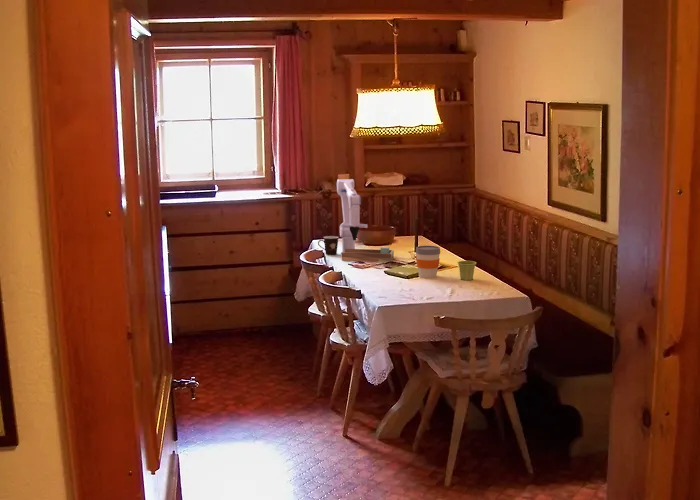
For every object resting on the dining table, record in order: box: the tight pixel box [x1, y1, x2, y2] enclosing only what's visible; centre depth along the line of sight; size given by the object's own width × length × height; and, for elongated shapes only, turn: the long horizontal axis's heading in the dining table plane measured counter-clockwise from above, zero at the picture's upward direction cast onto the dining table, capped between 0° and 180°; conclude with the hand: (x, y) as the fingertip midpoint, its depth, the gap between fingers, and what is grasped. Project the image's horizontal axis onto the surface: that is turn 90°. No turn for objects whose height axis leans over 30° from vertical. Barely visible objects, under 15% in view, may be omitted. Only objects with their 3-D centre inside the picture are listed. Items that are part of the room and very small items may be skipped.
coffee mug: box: [317, 235, 339, 256], centre depth 500 cm, size 12×9×10 cm
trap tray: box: [341, 248, 395, 262], centre depth 485 cm, size 13×28×4 cm, turn 81°
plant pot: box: [457, 260, 477, 281], centre depth 431 cm, size 9×9×9 cm
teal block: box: [380, 246, 390, 254], centre depth 485 cm, size 4×4×4 cm
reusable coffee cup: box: [415, 245, 441, 279], centre depth 437 cm, size 12×13×15 cm
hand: (354, 240), depth 487 cm, fingers closed
